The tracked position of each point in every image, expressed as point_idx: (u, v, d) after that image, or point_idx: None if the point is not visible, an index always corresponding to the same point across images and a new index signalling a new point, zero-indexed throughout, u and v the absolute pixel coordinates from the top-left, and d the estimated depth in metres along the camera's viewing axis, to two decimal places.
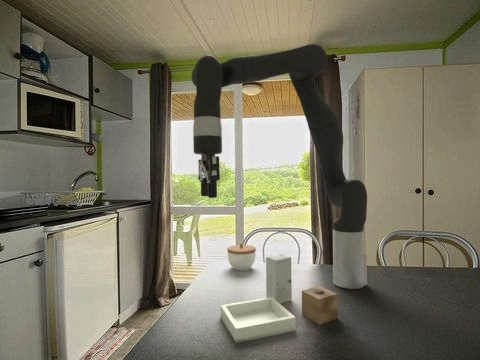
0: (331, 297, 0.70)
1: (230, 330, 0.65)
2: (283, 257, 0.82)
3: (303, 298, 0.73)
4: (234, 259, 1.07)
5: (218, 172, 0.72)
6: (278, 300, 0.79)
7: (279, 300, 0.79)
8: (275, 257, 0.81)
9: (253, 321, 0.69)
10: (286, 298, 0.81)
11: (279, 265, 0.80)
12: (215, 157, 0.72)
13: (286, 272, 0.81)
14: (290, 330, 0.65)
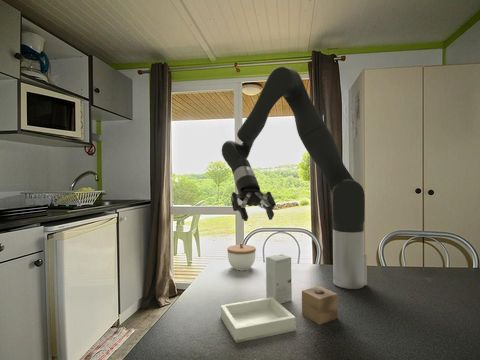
0: (331, 297, 0.70)
1: (230, 330, 0.65)
2: (283, 257, 0.82)
3: (303, 298, 0.73)
4: (234, 259, 1.07)
5: (234, 202, 0.94)
6: (278, 300, 0.79)
7: (279, 300, 0.79)
8: (275, 257, 0.81)
9: (253, 321, 0.69)
10: (286, 298, 0.81)
11: (279, 265, 0.80)
12: None
13: (286, 272, 0.81)
14: (290, 330, 0.65)
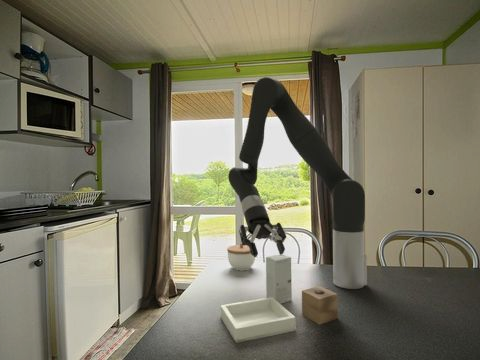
0: (331, 297, 0.70)
1: (230, 330, 0.65)
2: (283, 257, 0.82)
3: (303, 298, 0.73)
4: (234, 259, 1.07)
5: (242, 236, 0.89)
6: (278, 300, 0.79)
7: (279, 300, 0.79)
8: (275, 257, 0.81)
9: (253, 321, 0.69)
10: (286, 298, 0.81)
11: (279, 265, 0.80)
12: (240, 227, 0.92)
13: (286, 272, 0.81)
14: (290, 330, 0.65)
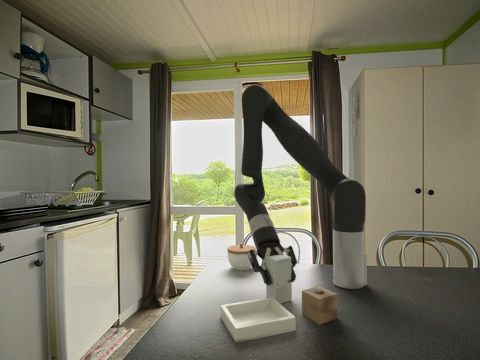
0: (331, 297, 0.70)
1: (230, 330, 0.65)
2: (283, 257, 0.82)
3: (303, 298, 0.73)
4: (234, 259, 1.07)
5: (254, 262, 0.82)
6: (278, 300, 0.79)
7: (279, 300, 0.79)
8: (275, 257, 0.81)
9: (253, 321, 0.69)
10: (286, 298, 0.81)
11: (279, 265, 0.80)
12: (249, 252, 0.85)
13: (286, 272, 0.81)
14: (290, 330, 0.65)
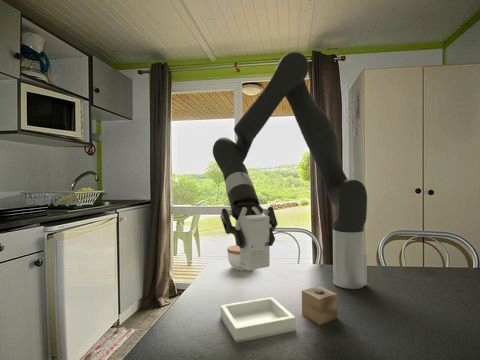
0: (331, 297, 0.70)
1: (230, 330, 0.65)
2: (260, 216, 0.70)
3: (303, 298, 0.73)
4: (234, 259, 1.07)
5: (226, 222, 0.70)
6: (252, 265, 0.68)
7: (254, 265, 0.68)
8: (250, 216, 0.69)
9: (253, 321, 0.69)
10: (262, 264, 0.69)
11: (255, 224, 0.68)
12: (221, 212, 0.73)
13: (262, 233, 0.69)
14: (290, 330, 0.65)
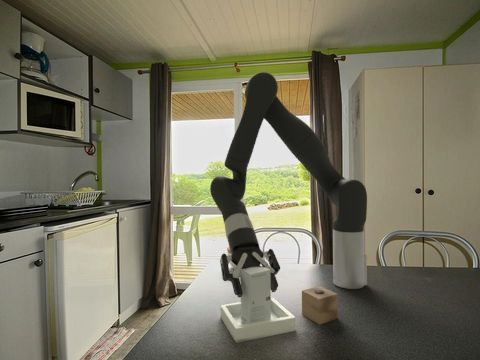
0: (331, 297, 0.70)
1: (230, 330, 0.65)
2: (261, 270, 0.69)
3: (303, 298, 0.73)
4: None
5: None
6: (254, 321, 0.66)
7: (255, 321, 0.67)
8: (251, 270, 0.68)
9: None
10: (263, 319, 0.68)
11: (256, 279, 0.67)
12: (221, 257, 0.72)
13: (263, 288, 0.68)
14: (290, 330, 0.65)
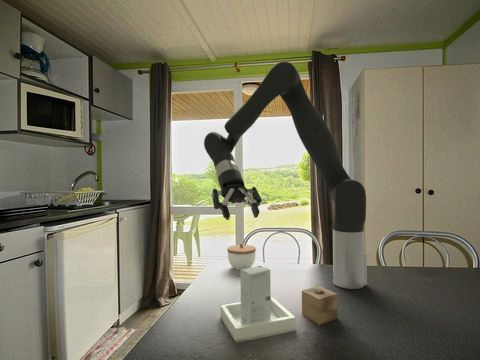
0: (331, 297, 0.70)
1: (230, 330, 0.65)
2: (260, 270, 0.69)
3: (303, 298, 0.73)
4: (234, 259, 1.07)
5: (214, 199, 0.85)
6: (254, 321, 0.66)
7: (255, 321, 0.67)
8: (250, 270, 0.68)
9: None
10: (263, 319, 0.68)
11: (255, 279, 0.67)
12: None
13: (263, 288, 0.68)
14: (290, 330, 0.65)
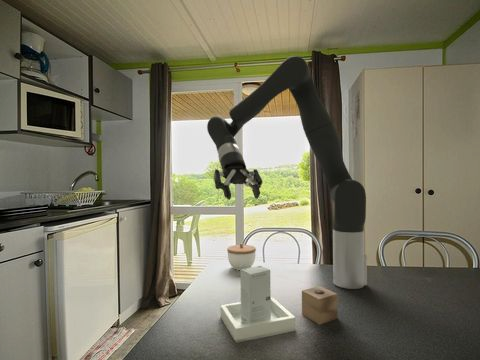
0: (331, 297, 0.70)
1: (230, 330, 0.65)
2: (260, 270, 0.69)
3: (303, 298, 0.73)
4: (234, 259, 1.07)
5: (216, 179, 0.86)
6: (254, 321, 0.66)
7: (255, 321, 0.67)
8: (251, 270, 0.68)
9: None
10: (263, 319, 0.68)
11: (255, 279, 0.67)
12: None
13: (263, 288, 0.68)
14: (290, 330, 0.65)
